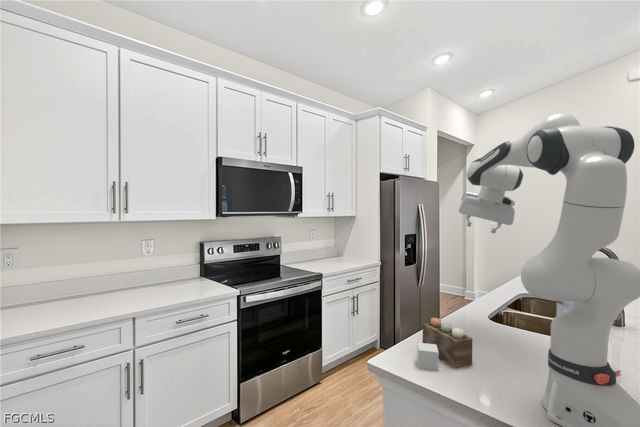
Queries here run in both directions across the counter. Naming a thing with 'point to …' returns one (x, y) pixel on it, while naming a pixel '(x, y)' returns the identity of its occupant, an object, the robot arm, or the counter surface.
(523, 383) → the counter surface
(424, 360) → the grey cube
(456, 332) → the cream button
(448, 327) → the sage button
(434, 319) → the terracotta button
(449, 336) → the brown wooden box
